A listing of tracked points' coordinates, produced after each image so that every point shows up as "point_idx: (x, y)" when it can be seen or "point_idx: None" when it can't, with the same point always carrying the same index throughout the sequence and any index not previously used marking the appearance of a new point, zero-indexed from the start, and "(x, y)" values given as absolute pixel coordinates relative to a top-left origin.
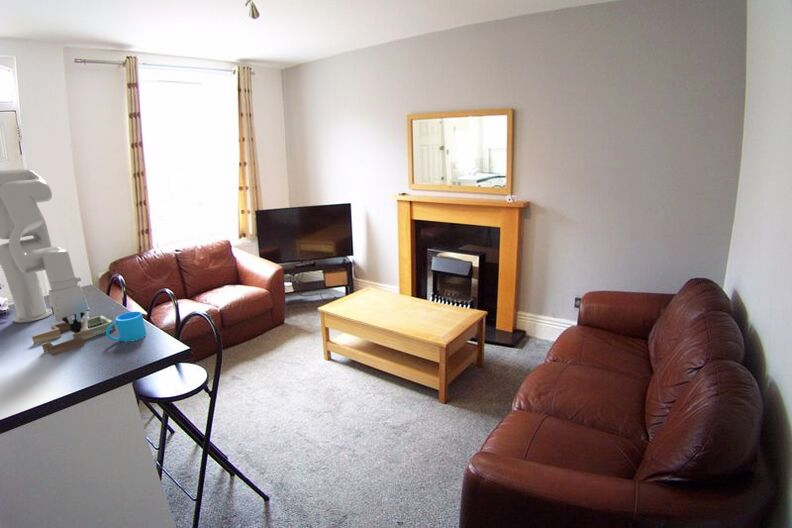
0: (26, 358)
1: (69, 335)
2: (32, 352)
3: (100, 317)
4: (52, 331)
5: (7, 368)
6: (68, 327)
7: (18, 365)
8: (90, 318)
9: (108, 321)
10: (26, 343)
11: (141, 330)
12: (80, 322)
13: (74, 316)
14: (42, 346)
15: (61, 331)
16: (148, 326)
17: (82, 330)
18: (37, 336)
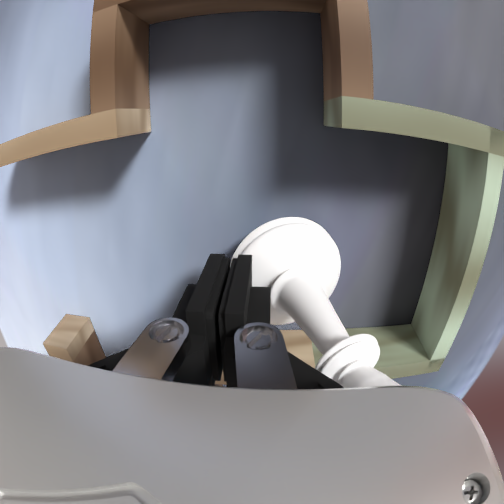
0: (24, 311)
1: (197, 170)
2: (27, 268)
3: (483, 182)
4: (71, 146)
5: (2, 332)
6: (238, 5)
7: (21, 342)
8: (435, 117)
9: (438, 343)
10: (6, 96)
11: None
12: (337, 87)
13: (236, 375)
14: (51, 338)
15: (181, 17)
16: (463, 394)
17: (270, 307)
18: (6, 164)
